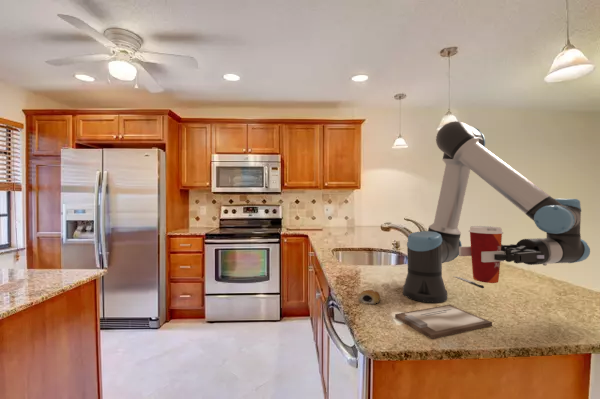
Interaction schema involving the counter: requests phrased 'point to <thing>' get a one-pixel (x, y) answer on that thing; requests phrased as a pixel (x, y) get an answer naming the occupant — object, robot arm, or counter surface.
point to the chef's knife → (470, 282)
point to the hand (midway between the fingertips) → (470, 254)
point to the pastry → (369, 297)
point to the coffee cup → (482, 242)
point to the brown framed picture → (442, 321)
